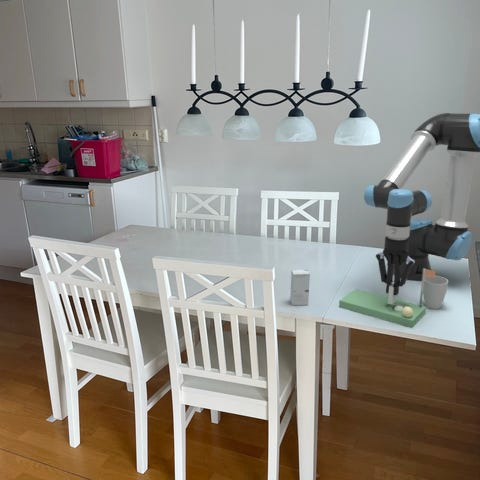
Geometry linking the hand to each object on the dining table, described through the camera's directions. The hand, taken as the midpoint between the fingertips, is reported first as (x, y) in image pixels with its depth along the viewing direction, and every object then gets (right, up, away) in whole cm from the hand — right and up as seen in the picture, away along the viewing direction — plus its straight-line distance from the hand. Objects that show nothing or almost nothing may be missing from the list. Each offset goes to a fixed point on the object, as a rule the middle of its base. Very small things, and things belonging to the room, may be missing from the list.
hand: (391, 302), depth 166 cm
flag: (+11, -2, -2) cm, 11 cm away
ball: (+2, -2, -1) cm, 4 cm away
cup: (+16, -2, +6) cm, 18 cm away
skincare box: (-30, -1, +10) cm, 32 cm away
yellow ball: (+3, -2, -8) cm, 9 cm away
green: (-2, -3, +3) cm, 5 cm away
